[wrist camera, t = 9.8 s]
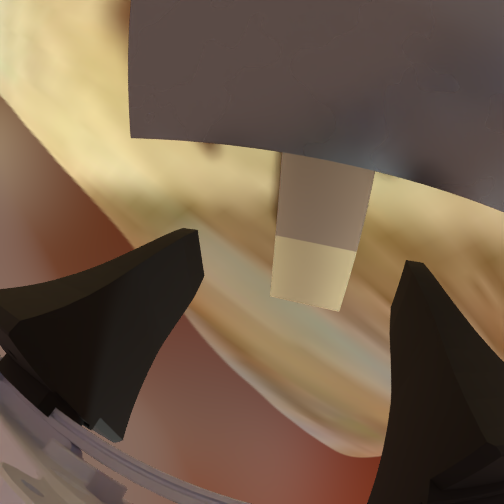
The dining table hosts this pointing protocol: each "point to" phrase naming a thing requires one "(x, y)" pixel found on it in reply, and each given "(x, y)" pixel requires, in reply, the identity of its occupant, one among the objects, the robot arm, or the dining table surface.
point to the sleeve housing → (330, 83)
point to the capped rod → (318, 229)
